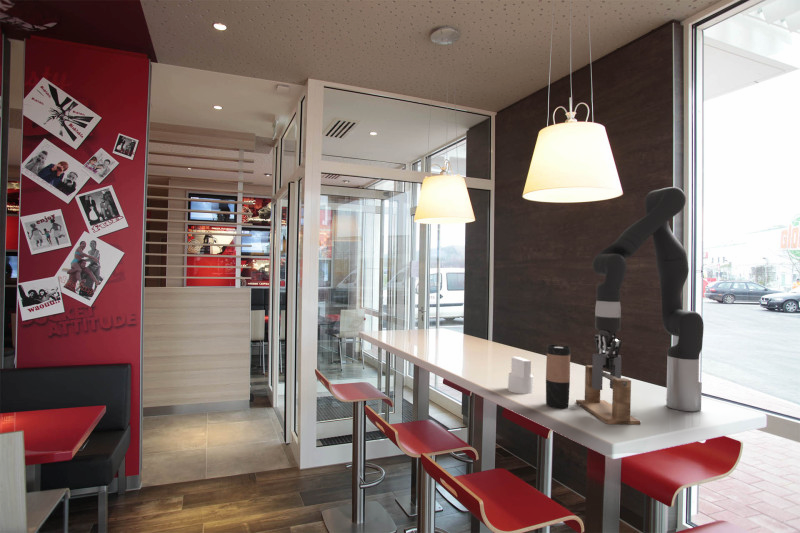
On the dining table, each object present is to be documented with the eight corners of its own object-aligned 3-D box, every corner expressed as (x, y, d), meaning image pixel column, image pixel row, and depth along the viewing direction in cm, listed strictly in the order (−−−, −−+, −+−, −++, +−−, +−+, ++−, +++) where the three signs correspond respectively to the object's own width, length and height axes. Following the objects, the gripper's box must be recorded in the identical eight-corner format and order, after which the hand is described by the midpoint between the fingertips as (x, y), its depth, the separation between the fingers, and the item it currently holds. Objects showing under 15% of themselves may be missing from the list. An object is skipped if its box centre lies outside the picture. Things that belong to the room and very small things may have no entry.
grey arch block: (615, 387, 149) (616, 354, 149) (620, 390, 146) (621, 356, 146) (591, 387, 148) (592, 353, 149) (596, 389, 145) (596, 355, 146)
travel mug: (553, 409, 149) (555, 348, 149) (540, 403, 156) (542, 344, 156) (574, 408, 151) (575, 348, 151) (560, 401, 158) (561, 344, 158)
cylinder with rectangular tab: (503, 388, 175) (504, 357, 175) (523, 387, 178) (524, 356, 178) (516, 394, 167) (517, 361, 167) (537, 393, 169) (538, 360, 170)
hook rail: (604, 403, 158) (605, 365, 158) (639, 424, 136) (640, 380, 136) (576, 402, 158) (576, 365, 158) (607, 423, 136) (608, 380, 136)
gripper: (631, 317, 141) (629, 373, 140) (608, 313, 155) (607, 364, 154) (607, 317, 140) (605, 373, 140) (586, 313, 154) (585, 364, 154)
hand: (606, 368), depth 147 cm, fingers closed on grey arch block, 3 cm apart
